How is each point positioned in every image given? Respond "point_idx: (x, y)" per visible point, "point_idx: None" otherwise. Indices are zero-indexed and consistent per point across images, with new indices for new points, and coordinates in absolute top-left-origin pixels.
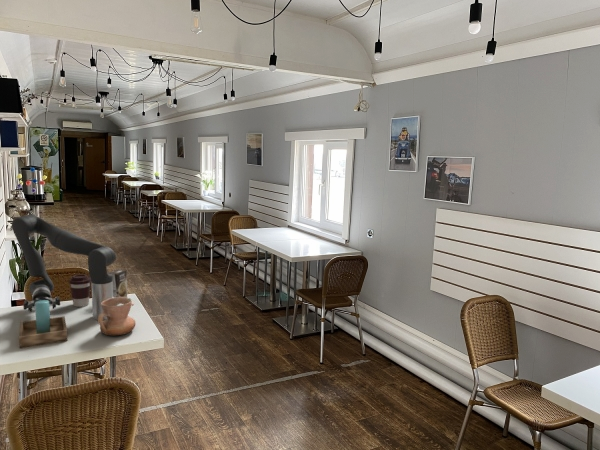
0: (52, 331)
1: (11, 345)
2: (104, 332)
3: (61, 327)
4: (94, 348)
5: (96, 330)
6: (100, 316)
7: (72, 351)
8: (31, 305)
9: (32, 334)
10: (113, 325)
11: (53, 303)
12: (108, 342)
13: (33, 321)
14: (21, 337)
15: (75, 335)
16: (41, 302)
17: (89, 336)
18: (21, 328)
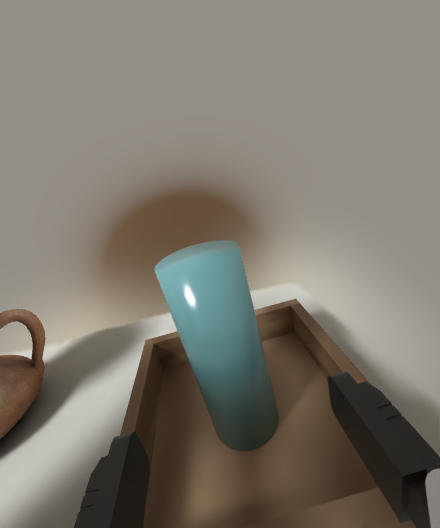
0: (206, 445)
1: (347, 349)
2: (43, 368)
3: (153, 517)
4: (112, 331)
5: (19, 466)
6: (26, 310)
7: (159, 320)
8: (359, 413)
9: (301, 416)
10: (5, 355)
11: (113, 458)
12: (66, 357)
13: (342, 500)
14: (288, 301)
15: (120, 417)
16: (199, 252)
17: (82, 401)
18: (342, 363)
